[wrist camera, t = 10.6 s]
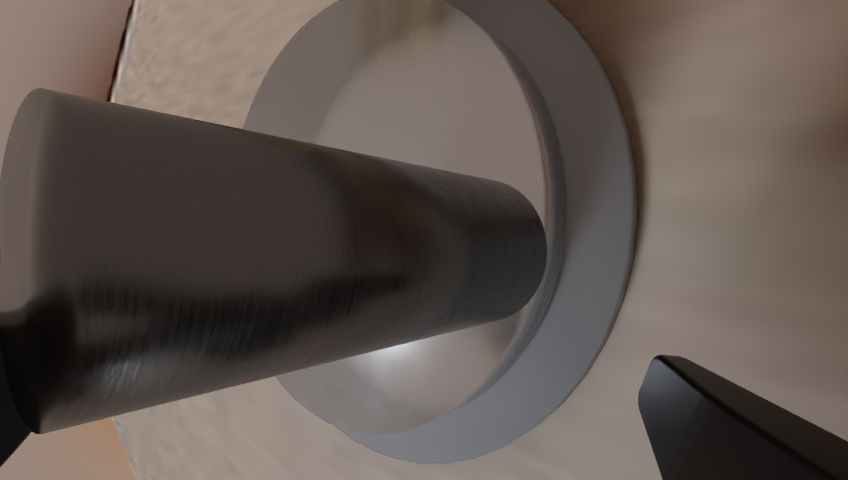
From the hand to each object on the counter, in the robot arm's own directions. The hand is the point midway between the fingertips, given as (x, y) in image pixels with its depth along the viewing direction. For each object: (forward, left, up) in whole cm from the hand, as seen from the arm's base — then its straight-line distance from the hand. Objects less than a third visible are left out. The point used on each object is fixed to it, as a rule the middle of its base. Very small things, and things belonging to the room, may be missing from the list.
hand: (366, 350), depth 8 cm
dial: (-2, +7, -7) cm, 10 cm away
